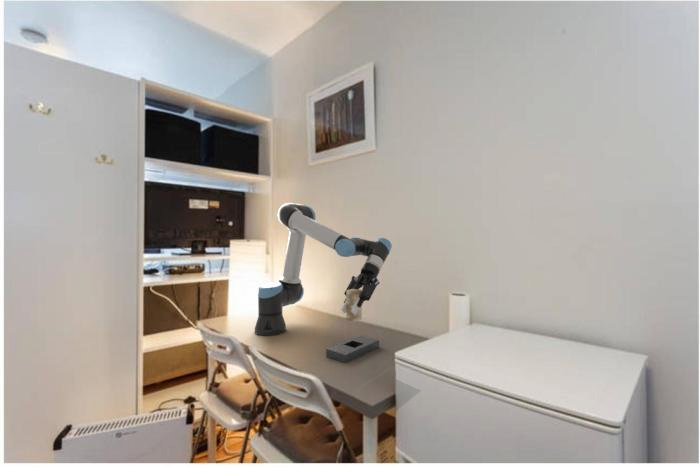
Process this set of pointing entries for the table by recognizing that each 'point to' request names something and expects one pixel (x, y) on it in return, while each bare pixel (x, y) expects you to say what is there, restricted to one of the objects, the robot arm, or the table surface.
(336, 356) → the grey block with hole
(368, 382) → the table surface
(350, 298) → the peg
